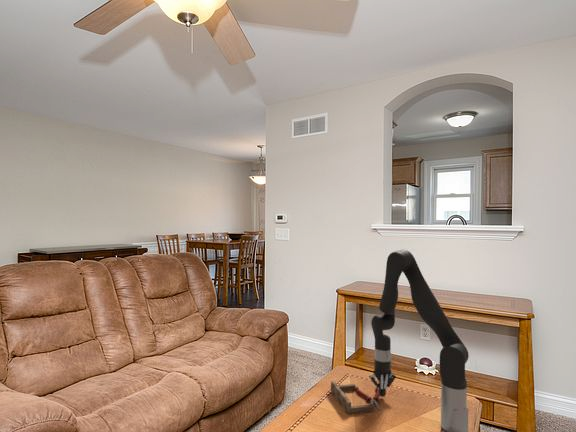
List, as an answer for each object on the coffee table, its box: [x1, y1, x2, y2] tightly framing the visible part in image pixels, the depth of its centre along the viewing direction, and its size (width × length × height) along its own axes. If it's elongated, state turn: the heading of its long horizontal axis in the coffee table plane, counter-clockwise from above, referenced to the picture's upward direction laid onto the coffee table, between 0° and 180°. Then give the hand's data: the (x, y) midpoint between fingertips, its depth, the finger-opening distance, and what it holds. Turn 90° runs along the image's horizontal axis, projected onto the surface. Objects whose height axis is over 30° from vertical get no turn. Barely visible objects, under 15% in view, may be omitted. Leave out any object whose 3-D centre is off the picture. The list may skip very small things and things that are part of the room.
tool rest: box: [330, 380, 375, 415], centre depth 161 cm, size 21×12×5 cm, turn 13°
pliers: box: [355, 386, 381, 411], centre depth 163 cm, size 12×20×3 cm, turn 0°
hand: (382, 395), depth 165 cm, fingers closed
